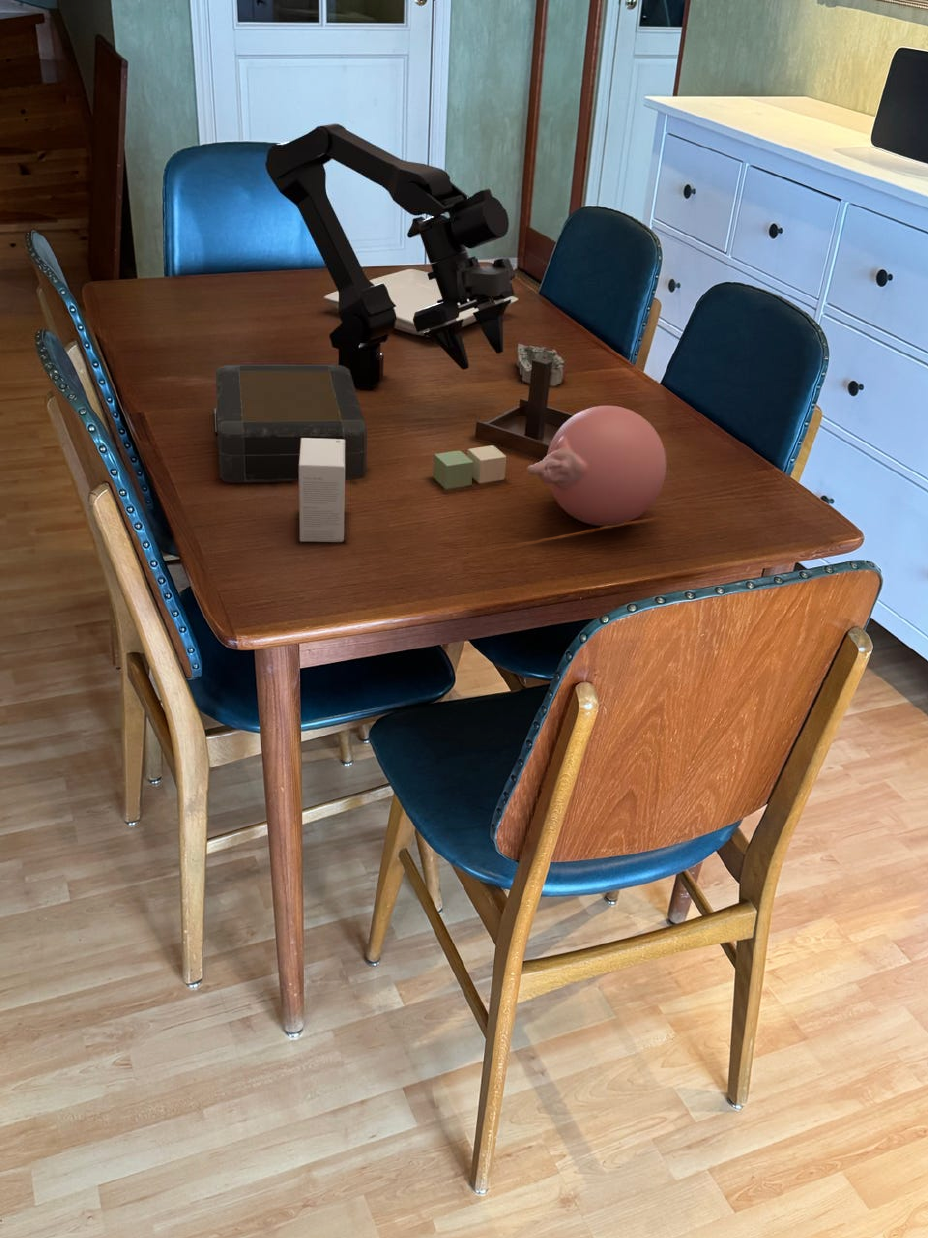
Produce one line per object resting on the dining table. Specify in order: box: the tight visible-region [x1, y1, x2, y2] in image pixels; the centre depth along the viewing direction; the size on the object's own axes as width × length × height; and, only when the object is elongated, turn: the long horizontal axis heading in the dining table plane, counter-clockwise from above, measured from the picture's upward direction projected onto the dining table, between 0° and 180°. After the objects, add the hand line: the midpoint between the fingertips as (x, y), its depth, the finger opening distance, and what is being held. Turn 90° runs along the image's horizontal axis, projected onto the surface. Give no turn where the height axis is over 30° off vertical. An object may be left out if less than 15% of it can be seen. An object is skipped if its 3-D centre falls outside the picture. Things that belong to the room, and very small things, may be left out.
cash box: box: [212, 364, 368, 484], centre depth 157 cm, size 25×20×8 cm
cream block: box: [466, 444, 507, 484], centre depth 154 cm, size 4×4×4 cm
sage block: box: [432, 450, 473, 490], centre depth 151 cm, size 4×4×4 cm
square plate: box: [323, 268, 519, 338], centre depth 213 cm, size 27×27×4 cm
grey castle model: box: [516, 343, 565, 387], centre depth 189 cm, size 11×8×4 cm
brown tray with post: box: [474, 357, 575, 461], centre depth 164 cm, size 13×13×12 cm
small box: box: [298, 438, 346, 543], centre depth 137 cm, size 8×6×10 cm
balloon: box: [526, 405, 667, 527], centre depth 142 cm, size 15×20×15 cm
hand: (483, 360), depth 167 cm, fingers open, 9 cm apart
